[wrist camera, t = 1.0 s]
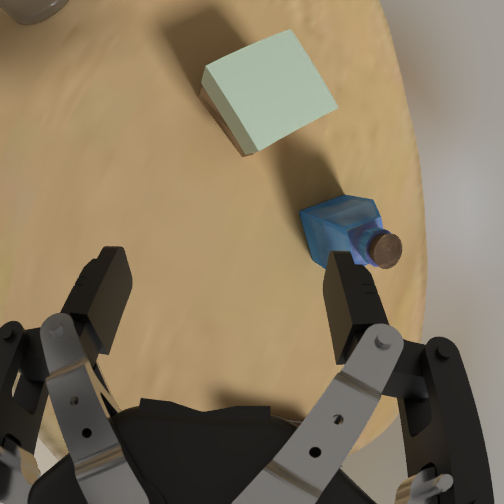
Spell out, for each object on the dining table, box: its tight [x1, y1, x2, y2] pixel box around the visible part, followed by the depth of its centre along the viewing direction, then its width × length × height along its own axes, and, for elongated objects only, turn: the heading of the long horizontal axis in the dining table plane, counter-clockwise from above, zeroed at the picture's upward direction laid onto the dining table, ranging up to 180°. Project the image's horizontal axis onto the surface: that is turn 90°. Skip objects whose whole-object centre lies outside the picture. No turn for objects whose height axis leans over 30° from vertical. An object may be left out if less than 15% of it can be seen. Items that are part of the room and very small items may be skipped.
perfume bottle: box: [299, 195, 402, 269], centre depth 31 cm, size 6×6×12 cm
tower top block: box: [201, 29, 339, 155], centre depth 25 cm, size 8×8×5 cm
